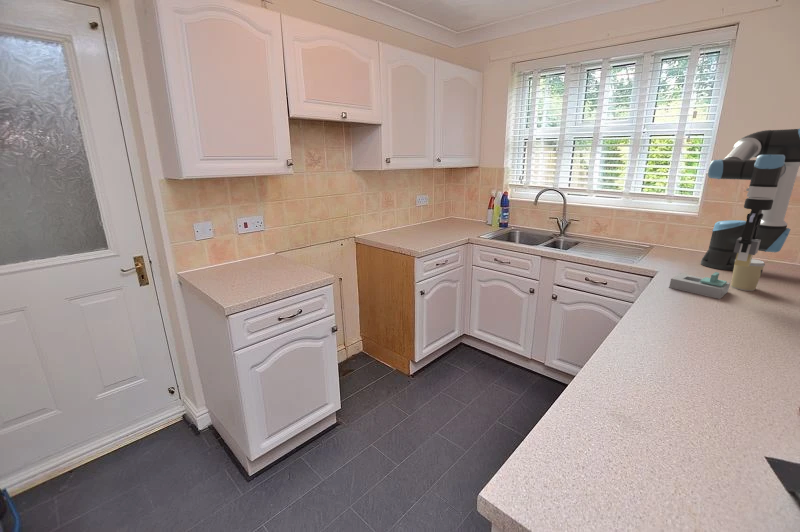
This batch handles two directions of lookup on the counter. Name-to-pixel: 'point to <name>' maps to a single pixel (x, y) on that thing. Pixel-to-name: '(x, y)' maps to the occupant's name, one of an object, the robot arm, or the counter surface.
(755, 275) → the coffee cup
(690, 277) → the socket plate
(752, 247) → the plug
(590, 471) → the counter surface
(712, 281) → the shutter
